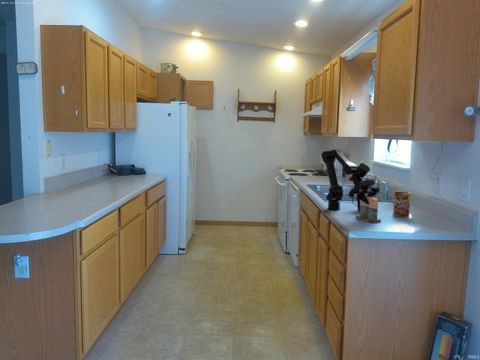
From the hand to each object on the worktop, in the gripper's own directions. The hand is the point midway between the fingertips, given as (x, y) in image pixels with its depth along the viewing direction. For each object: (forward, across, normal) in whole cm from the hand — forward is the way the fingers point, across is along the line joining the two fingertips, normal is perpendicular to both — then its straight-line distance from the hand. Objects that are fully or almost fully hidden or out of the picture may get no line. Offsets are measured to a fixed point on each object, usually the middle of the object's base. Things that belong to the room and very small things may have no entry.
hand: (370, 204), depth 219 cm
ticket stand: (+6, 0, +8) cm, 10 cm away
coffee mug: (-10, +14, +24) cm, 30 cm away
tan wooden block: (0, 0, +2) cm, 2 cm away
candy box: (+5, +27, +9) cm, 29 cm away
